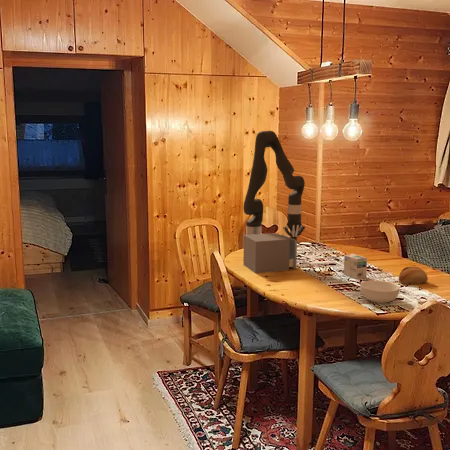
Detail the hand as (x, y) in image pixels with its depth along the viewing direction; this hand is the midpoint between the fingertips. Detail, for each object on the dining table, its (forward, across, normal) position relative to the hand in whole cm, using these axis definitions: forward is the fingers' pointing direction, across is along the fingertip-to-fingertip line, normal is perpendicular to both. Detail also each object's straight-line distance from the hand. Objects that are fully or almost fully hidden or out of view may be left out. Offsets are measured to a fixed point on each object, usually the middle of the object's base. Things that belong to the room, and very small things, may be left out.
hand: (293, 243), depth 302 cm
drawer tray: (+12, +12, 0) cm, 17 cm away
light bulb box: (+13, -20, +30) cm, 39 cm away
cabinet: (+12, +16, 0) cm, 20 cm away
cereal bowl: (+12, -9, +68) cm, 70 cm away
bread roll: (+13, -41, +50) cm, 66 cm away
